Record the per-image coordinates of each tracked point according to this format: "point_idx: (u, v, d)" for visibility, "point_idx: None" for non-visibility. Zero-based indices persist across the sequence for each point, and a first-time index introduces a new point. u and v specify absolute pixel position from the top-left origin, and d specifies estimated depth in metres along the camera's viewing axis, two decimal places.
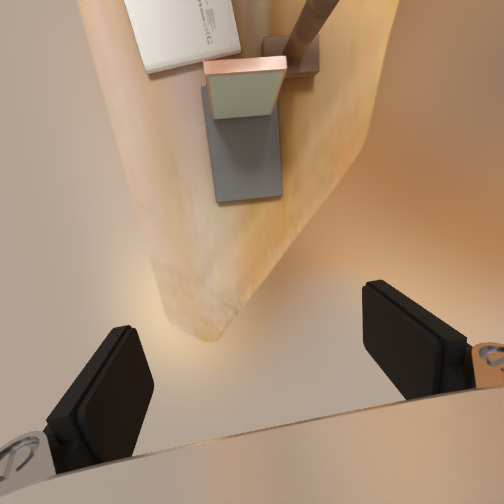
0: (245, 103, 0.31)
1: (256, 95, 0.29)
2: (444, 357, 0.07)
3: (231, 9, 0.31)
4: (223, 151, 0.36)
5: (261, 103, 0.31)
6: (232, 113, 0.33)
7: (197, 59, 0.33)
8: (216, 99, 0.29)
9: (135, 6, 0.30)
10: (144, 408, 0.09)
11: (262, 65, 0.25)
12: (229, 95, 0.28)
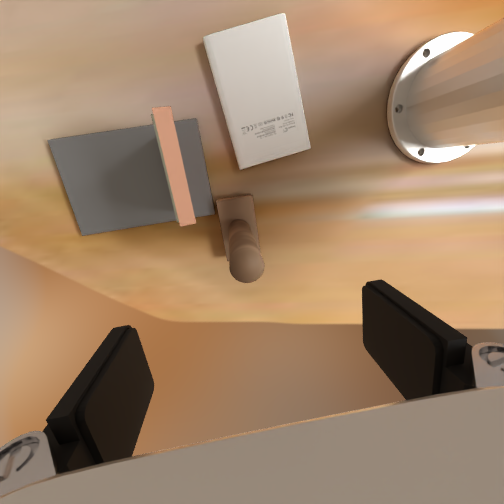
0: None
1: None
2: (444, 357, 0.07)
3: (276, 156, 0.28)
4: (122, 150, 0.27)
5: None
6: None
7: (224, 113, 0.26)
8: None
9: (271, 30, 0.24)
10: (144, 408, 0.09)
11: (178, 193, 0.19)
12: None
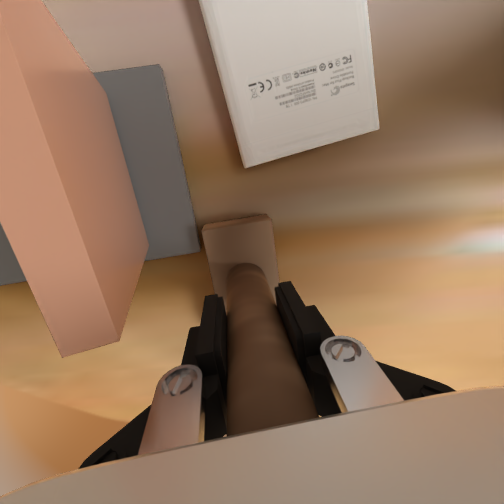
0: None
1: None
2: (304, 348, 0.08)
3: (315, 144, 0.15)
4: None
5: None
6: None
7: (215, 53, 0.13)
8: None
9: None
10: None
11: (42, 253, 0.05)
12: None
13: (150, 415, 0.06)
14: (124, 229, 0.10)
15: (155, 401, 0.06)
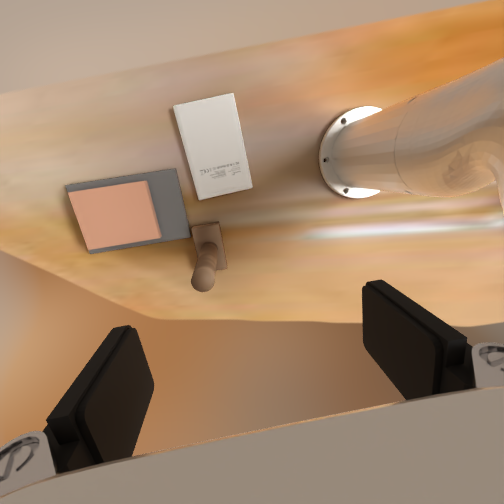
0: None
1: None
2: (444, 357, 0.07)
3: (226, 192, 0.37)
4: None
5: None
6: None
7: (187, 159, 0.36)
8: None
9: (222, 104, 0.34)
10: (144, 408, 0.09)
11: None
12: None
13: None
14: (115, 231, 0.36)
15: None
